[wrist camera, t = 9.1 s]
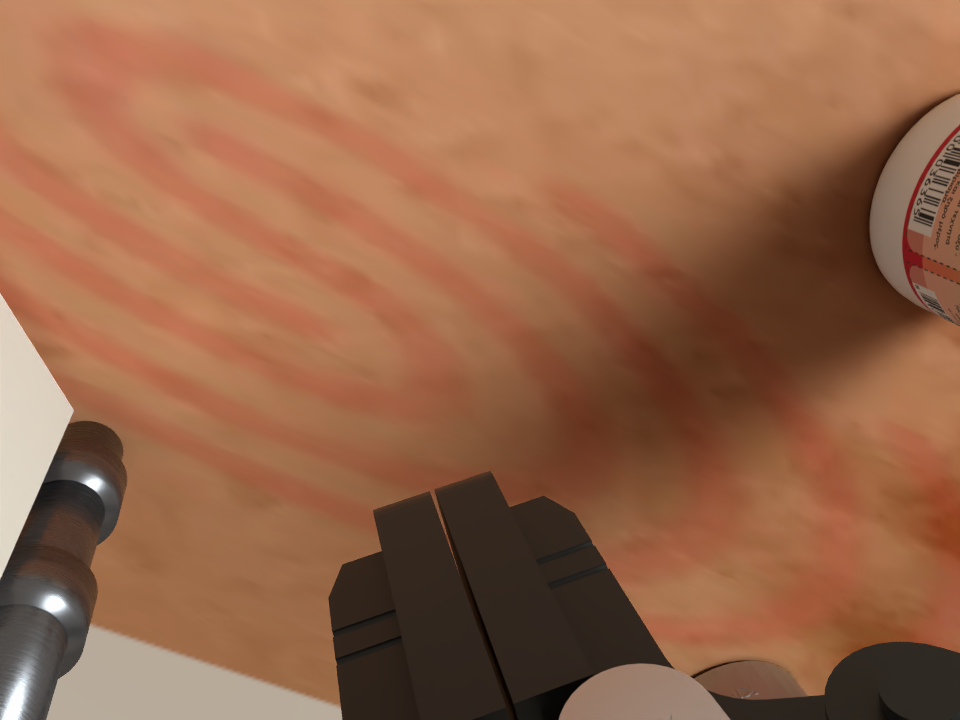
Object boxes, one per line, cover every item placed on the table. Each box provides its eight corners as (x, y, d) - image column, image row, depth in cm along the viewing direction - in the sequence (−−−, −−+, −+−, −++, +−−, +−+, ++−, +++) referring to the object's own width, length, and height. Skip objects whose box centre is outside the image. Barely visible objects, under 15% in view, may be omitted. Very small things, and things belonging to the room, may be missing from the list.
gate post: (153, 460, 31) (82, 775, 19) (77, 502, 31) (-43, 844, 19) (98, 395, 30) (-18, 689, 17) (18, 439, 30) (-154, 765, 17)
